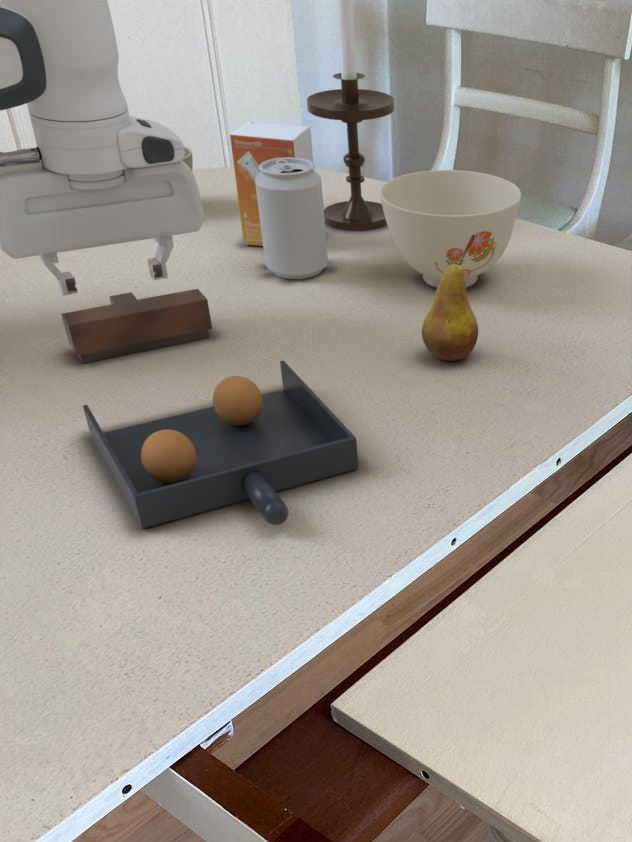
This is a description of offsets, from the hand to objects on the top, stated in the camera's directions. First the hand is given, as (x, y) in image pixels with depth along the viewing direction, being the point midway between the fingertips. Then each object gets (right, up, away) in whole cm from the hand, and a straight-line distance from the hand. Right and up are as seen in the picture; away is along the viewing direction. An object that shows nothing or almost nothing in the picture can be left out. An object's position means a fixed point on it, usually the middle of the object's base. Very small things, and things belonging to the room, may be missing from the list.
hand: (114, 285), depth 102 cm
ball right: (+16, -16, -14) cm, 27 cm away
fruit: (+35, -8, -1) cm, 36 cm away
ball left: (+13, -22, -21) cm, 33 cm away
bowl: (+35, +6, +14) cm, 38 cm away
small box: (+13, +14, +22) cm, 29 cm away
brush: (+2, -5, +1) cm, 6 cm away
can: (+16, +7, +15) cm, 24 cm away
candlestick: (+22, +19, +29) cm, 41 cm away
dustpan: (+17, -23, -18) cm, 34 cm away
